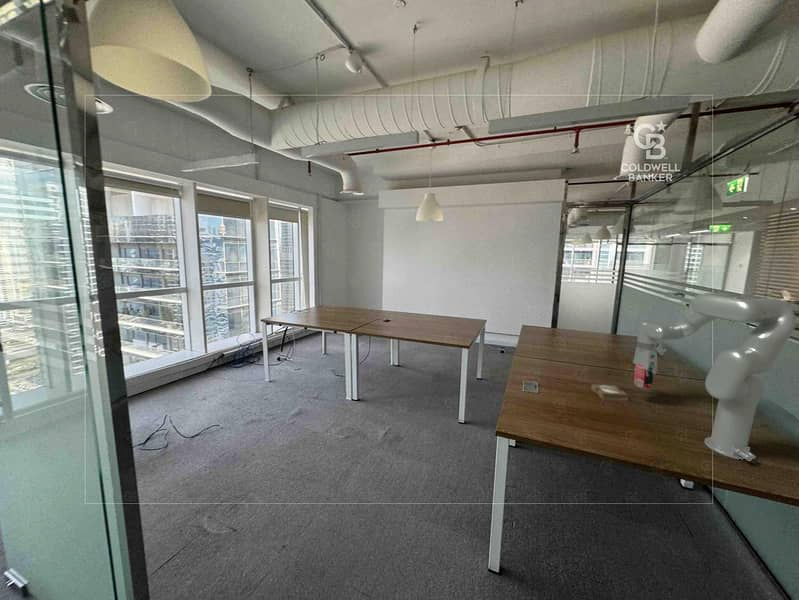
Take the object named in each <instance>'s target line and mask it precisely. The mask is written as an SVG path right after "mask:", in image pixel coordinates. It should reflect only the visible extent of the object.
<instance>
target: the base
mask: <svg viewBox="0 0 799 600" xmlns="http://www.w3.org/2000/svg"><path fill="white" fill-rule="evenodd" d="M590 386H591V387H590V390H591V391H593V393H595V394H596V393H597V394H598V395H599V396H598V395H597V394H596V395H597V396H598V397H599V398H600V399H602V400H605V401H623V402H628V400H629V397H630V396H629V394H627V393H626V392H625V391H623V390H622V389H620V388H619V387H618V386H616V385H615V384H601V383H600V384H599V383H598V384H597V383H592V384H591V385H590Z"/></svg>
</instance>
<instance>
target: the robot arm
mask: <svg viewBox="0 0 799 600" xmlns="http://www.w3.org/2000/svg"><path fill="white" fill-rule="evenodd" d="M682 317H683V318H682V319H680V320H678V321H676V322H674V323H658V322H657V321H652V320H641V321H640V322H638V329H637V338H636V340H637V341H636V347H635V352H634V357H633V359H632V363H633V370H634V372H635V365H636V364H637V363H639V364H642V367H643V368H644V370H646V375H647V376H645V384H651V385H652V384H653V381H654V380H653V379H654V377H655V375H656V374H657V373H658V372H659V371H658V352H657V343H658V341H670V340H672V341H675V340H680V339H683V338H686V337H688V336H691V335H693V334H695V333H697V332H698V331H699V330H701V328H702V327H703V326H704V325H707V324H709V323H711V322H713V321H715V320H718V319H720V320H724V321H728V322H732V323H742V324H750V323H758V324H757V326H756V327H754V328H753V329H752V330H751V331H750V333H749V334H748V336H747V337H746V340H745V341H744V343H743V345H742V346H741V347H736V348H735V347H734V348H729V349H725V350H723V351H721V352H720V353H719V354H718V355H717V356H716V358H715V360H714V362H713V364H712V366H711V368H710V370H709V371H708V374H707V376H706V378H705V382H704V385H705V390H706V391H707V392H708V394H709V395H710V396H711V397H713V398H715V399H718V403H717V406H716V411H715V416H714V421H713V427H712V430H711V436H709V437H706V438H704V444H705V445H706V446H707V447H708V448H709V449H711V450H712V451H714V452H716V453H718V454H720V455H723V456H725V457H727V458H731V459H734V460H739V459H741V460H740V461H744V460H743V459H746V460H745V461H747V462H751V461H752V460H755V459H756V457H757V456H756V454H755V455H754V454H753V453H752V452H751V451H750V450H751V447H750V446H748V445H749V442H750V436H751V431H752V428H753V423H754V419H755V414H756V410H757V408H758V404H759V403H760V400H761V399H762V397H763V395H764V389H765V388H764V386H765V385H764V384H763V382H762V380H761V379H760V378H759V377H758V376H756V375H759V374H761V375H762V374H766V373H768V372H769V371H770V370H771V369H772V368H773V367H774V364H775V363H776V361H777V359H778V357H779V356H780V355H781V352H782V351H783V349H784V346H785V345H786V343H787V342H788V340H789V338H790V337H791V336H792V334H793V332H794V330H795V327H796V324H797V318H796V314H795V313H794V311H793V309H791V307H790V306H789V305H788V304H787V303H784V302H783V301H780V300H778V299H773V298H763V297H762V298H760V297H759V298H736V296H735V295H733V294H730V293H727V292H707V293H706V292H705V293H700V294H698V295H697V296H695V297H694V298H693V300H692V301H691V306H689V307H687V308H686V309H684V310H683V311H682ZM648 368H651V370H648ZM648 371H651V372H650V373H649V372H648Z"/></svg>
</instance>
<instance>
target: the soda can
mask: <svg viewBox="0 0 799 600" xmlns="http://www.w3.org/2000/svg"><path fill="white" fill-rule="evenodd" d="M648 370H651V368H648ZM634 371H635V372H634V373H633V384H634V386H636V388H639V389H646V390H647V389H650V388H651V387H652V384H645V376H647V375H646V370H644V368H643V367H642V364H639V363H637V364H636V365H635V370H634ZM648 372H649V373H650V372H651V371H648Z"/></svg>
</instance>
